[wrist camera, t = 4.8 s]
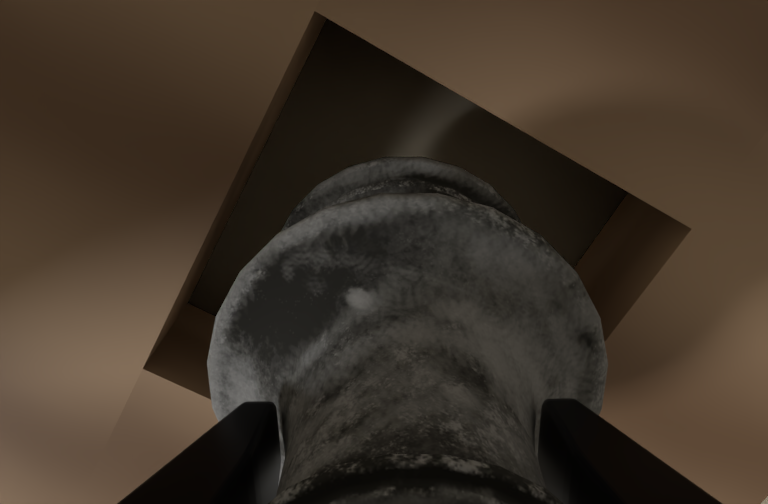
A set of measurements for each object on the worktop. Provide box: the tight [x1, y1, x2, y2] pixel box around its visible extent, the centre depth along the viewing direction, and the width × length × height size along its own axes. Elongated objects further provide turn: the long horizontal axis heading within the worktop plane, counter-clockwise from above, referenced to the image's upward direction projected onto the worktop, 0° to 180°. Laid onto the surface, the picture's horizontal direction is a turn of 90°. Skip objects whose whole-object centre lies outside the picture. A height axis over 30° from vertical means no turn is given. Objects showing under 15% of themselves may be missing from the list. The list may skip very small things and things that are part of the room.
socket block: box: [0, 0, 768, 504], centre depth 14 cm, size 18×18×3 cm
